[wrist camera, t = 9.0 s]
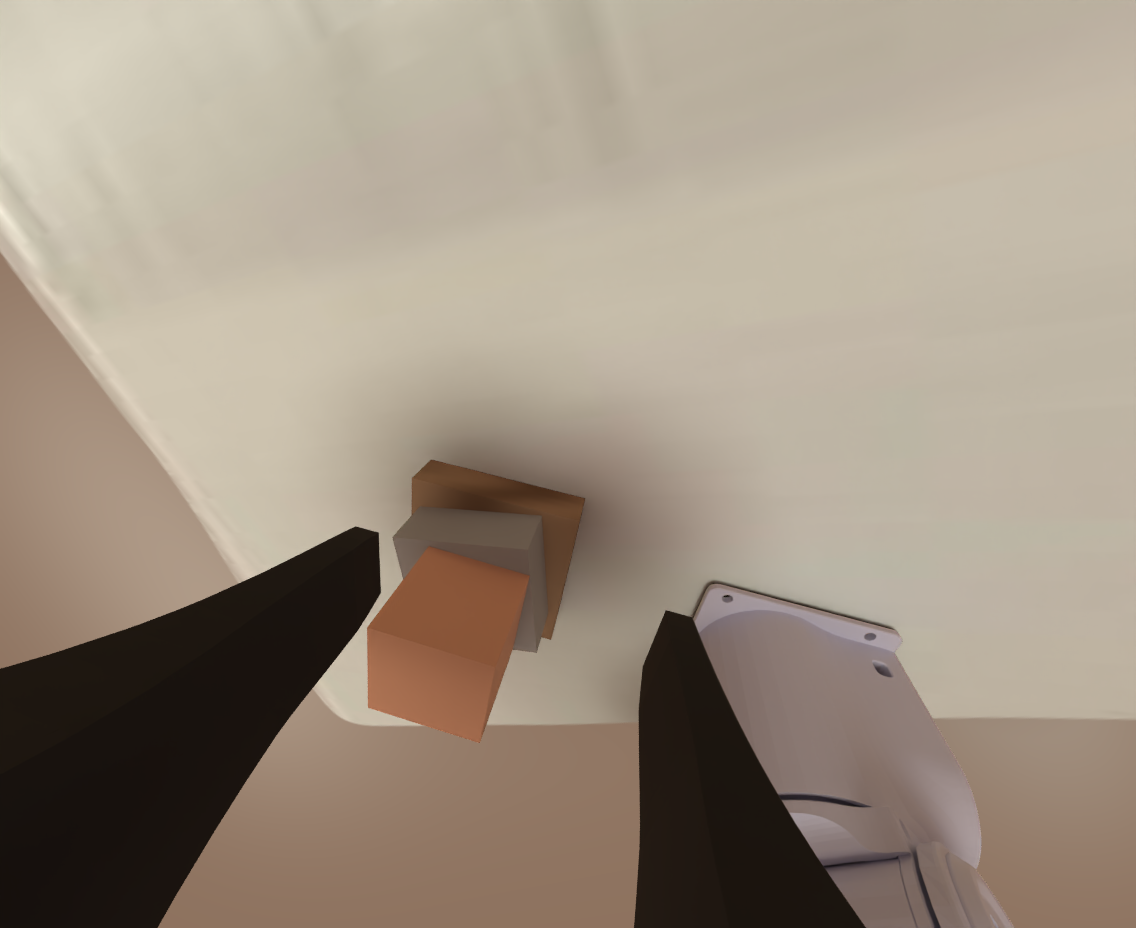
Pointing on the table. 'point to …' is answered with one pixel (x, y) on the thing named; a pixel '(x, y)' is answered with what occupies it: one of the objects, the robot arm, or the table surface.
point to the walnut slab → (503, 495)
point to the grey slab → (485, 553)
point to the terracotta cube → (445, 642)
